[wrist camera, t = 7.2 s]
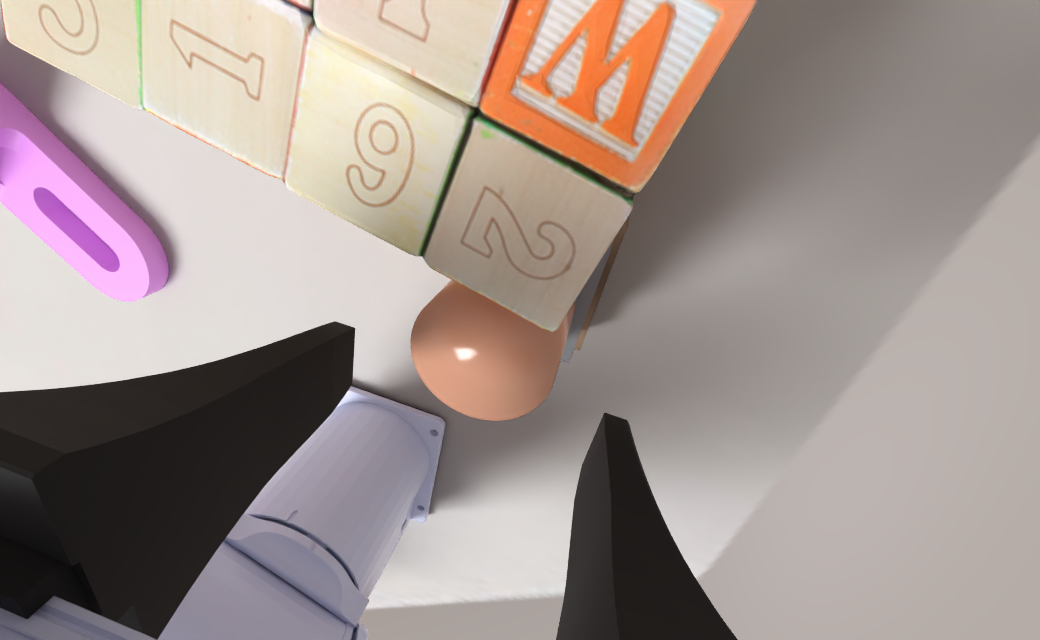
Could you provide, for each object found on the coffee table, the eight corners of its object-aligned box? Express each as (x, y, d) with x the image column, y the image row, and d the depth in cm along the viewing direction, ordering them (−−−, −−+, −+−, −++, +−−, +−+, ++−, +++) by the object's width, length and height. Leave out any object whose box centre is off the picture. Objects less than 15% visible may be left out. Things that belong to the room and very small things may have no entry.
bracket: (-36, 137, 27) (-234, 156, 21) (-16, 63, 24) (-237, 61, 18) (149, 307, 29) (22, 368, 23) (185, 258, 27) (52, 312, 21)
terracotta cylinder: (561, 362, 18) (539, 437, 14) (455, 333, 19) (406, 397, 15) (588, 257, 16) (571, 312, 12) (468, 228, 17) (415, 271, 13)
